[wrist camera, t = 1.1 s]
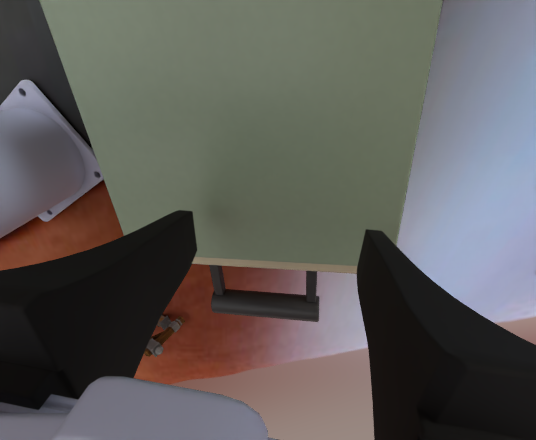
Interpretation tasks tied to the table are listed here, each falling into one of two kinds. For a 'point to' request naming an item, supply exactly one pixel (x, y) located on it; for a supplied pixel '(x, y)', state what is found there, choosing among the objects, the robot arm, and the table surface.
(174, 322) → the wooden post with brackets
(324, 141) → the cabinet
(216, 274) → the drawer
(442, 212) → the table surface
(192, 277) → the table surface
